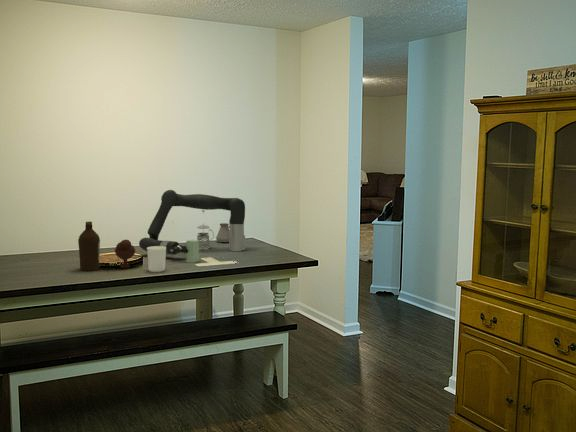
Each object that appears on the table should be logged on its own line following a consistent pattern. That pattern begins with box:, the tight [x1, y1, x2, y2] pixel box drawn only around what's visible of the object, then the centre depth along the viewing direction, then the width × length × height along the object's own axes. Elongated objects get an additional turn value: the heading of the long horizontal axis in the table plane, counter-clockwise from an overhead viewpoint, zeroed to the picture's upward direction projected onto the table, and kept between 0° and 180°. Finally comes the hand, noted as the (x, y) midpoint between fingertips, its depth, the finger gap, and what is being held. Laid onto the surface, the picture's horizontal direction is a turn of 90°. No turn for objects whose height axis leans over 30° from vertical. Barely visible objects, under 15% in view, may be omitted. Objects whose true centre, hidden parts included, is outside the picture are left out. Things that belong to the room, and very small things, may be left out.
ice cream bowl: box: [114, 239, 136, 269], centre depth 302 cm, size 11×11×15 cm
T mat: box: [194, 257, 238, 267], centre depth 322 cm, size 22×24×1 cm
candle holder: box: [146, 246, 167, 273], centre depth 295 cm, size 10×10×12 cm
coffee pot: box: [215, 222, 229, 243], centre depth 386 cm, size 21×12×15 cm, turn 31°
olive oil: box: [77, 221, 101, 272], centre depth 294 cm, size 11×11×25 cm
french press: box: [196, 209, 214, 250], centre depth 364 cm, size 10×12×25 cm
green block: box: [186, 239, 200, 264], centre depth 321 cm, size 5×5×12 cm
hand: (192, 250), depth 321 cm, fingers open, 8 cm apart
